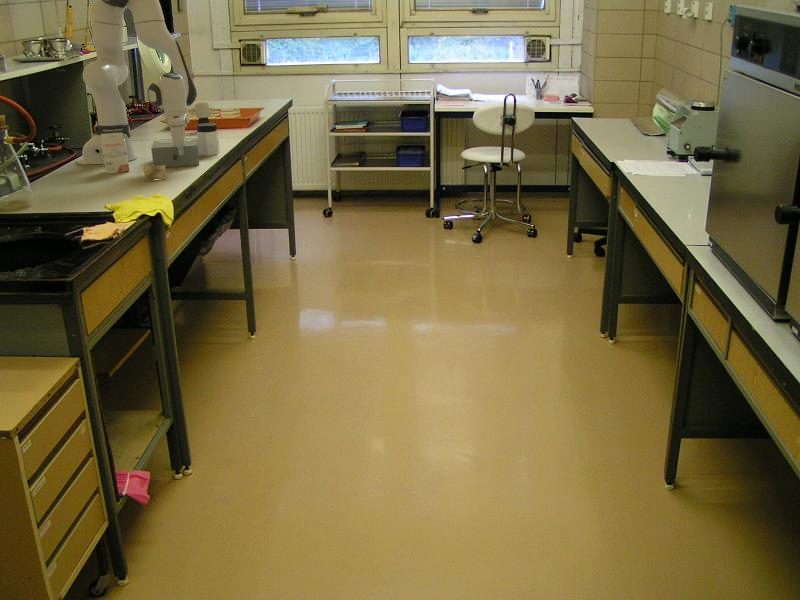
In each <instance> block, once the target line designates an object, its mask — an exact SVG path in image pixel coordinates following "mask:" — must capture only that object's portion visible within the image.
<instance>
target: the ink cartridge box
mask: <svg viewBox="0 0 800 600" xmlns="http://www.w3.org/2000/svg"><path fill="white" fill-rule="evenodd" d="M100 136H101V146H102V152H103V159H104V164H103V165H104V170H105V173H106V174H114V173H113V172H119V173H124V172H123V171H129V172H130V165H129V161H128V157H127V150H126V144H125V139H124V137H123V133H122V132H121V133H107V134H101V135H100ZM109 136H116V138H108V137H109Z"/></svg>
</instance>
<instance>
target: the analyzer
mask: <svg viewBox="0 0 800 600" xmlns="http://www.w3.org/2000/svg"><path fill="white" fill-rule="evenodd" d="M193 147H197V155H198V164H199V165H200V155H199V148H198V139H197V138H185V142H184V146H183V148H193ZM176 148H177V147H175V146H174V144H173V140H172V139H168V140H167V139H165V140H153V141H152V144H151V147H150V149H151V150H150V151H152V150H160V149H176ZM151 156H152V155H151ZM151 159H153V156H152V157H151ZM152 164H153V163H152ZM152 166H154V164H153V165H152Z"/></svg>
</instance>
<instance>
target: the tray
mask: <svg viewBox="0 0 800 600" xmlns="http://www.w3.org/2000/svg"><path fill="white" fill-rule="evenodd" d="M183 150H184V155H181V156H180V155H179V152H178V148H176V149H160V150H151V156H153V158H152V164H154V166H158V165H165V167H166V168H172V167H184V166H185V167H187V166H189V167H190V166H199V165H200V163H199V164H198V155H197V147H193V148H183Z"/></svg>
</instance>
